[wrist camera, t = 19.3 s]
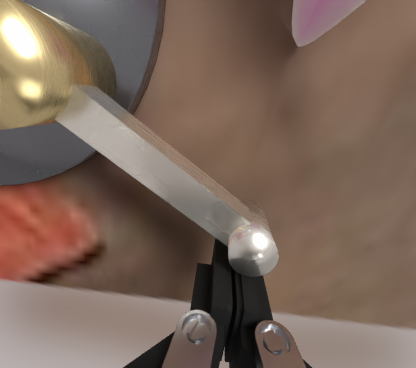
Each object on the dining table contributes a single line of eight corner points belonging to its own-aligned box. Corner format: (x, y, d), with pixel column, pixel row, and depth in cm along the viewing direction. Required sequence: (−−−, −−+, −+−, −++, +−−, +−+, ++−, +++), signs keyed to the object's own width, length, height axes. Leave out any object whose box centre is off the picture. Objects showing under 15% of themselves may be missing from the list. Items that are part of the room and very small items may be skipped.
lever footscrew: (24, 82, 10) (-111, 71, 6) (57, 7, 9) (-82, -72, 5) (233, 239, 12) (239, 308, 8) (280, 194, 11) (314, 249, 7)
